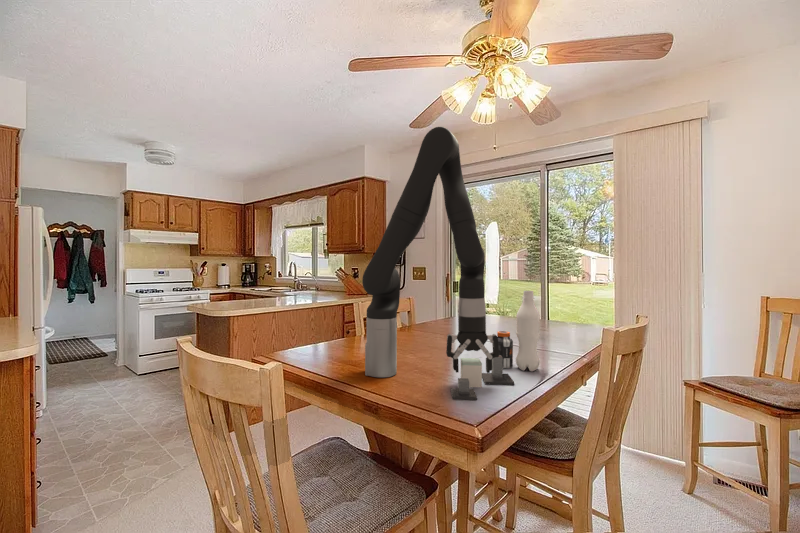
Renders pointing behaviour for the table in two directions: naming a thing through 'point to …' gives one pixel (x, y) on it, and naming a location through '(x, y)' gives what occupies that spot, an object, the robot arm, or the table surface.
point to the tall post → (497, 374)
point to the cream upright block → (472, 371)
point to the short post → (463, 391)
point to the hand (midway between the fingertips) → (472, 371)
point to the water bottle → (528, 333)
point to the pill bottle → (505, 348)
